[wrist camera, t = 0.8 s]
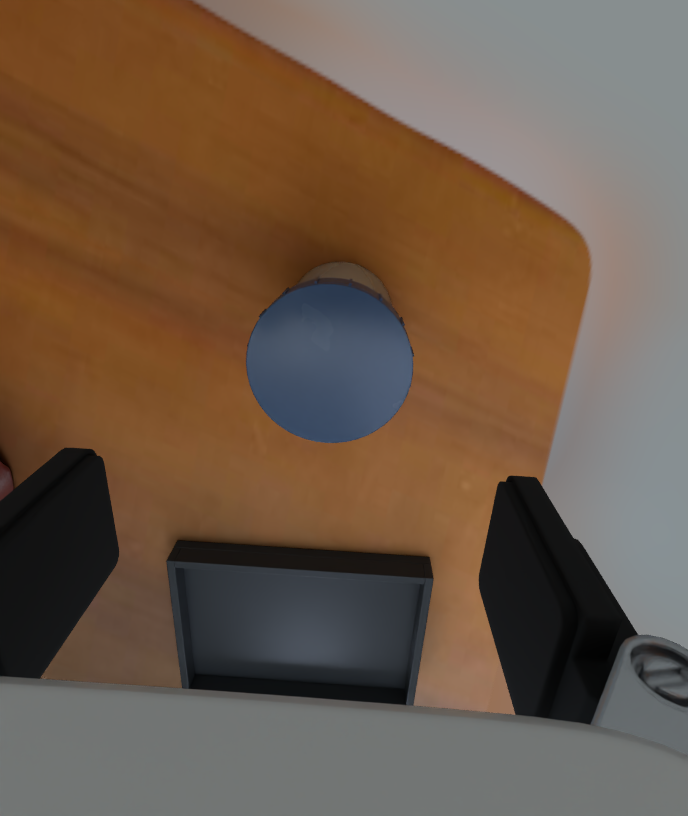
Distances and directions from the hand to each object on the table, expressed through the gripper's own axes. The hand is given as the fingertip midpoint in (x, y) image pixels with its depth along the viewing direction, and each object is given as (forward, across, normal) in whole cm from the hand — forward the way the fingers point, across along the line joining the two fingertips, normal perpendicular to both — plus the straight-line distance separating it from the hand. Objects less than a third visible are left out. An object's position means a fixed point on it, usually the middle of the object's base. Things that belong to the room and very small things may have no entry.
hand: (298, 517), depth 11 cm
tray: (+20, +2, +25) cm, 32 cm away
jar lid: (+11, 0, 0) cm, 11 cm away
